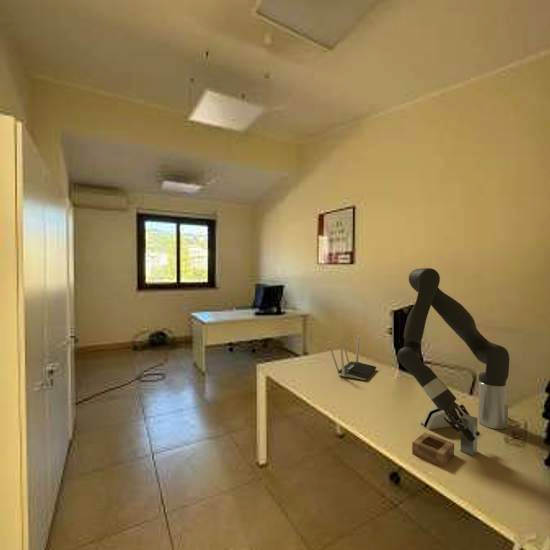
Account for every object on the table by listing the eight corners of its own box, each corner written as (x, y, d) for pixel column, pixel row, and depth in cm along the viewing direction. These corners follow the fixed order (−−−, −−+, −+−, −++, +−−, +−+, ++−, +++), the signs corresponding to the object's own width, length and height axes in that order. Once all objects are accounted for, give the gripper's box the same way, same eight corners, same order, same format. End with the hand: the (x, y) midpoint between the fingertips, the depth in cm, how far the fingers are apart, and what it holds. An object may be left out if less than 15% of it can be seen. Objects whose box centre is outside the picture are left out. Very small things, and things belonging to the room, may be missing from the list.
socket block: (424, 442, 117) (424, 432, 117) (454, 454, 110) (454, 443, 110) (412, 453, 111) (412, 442, 111) (442, 467, 103) (442, 454, 103)
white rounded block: (452, 418, 136) (459, 400, 132) (461, 427, 131) (468, 408, 128) (419, 423, 132) (425, 404, 128) (426, 432, 127) (433, 413, 124)
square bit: (464, 446, 115) (464, 413, 114) (477, 451, 112) (477, 417, 111) (460, 451, 112) (460, 417, 112) (473, 456, 109) (473, 421, 109)
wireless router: (363, 384, 175) (363, 348, 175) (324, 377, 188) (324, 343, 187) (379, 368, 204) (379, 337, 203) (344, 362, 216) (344, 333, 216)
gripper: (438, 393, 112) (477, 441, 103) (453, 383, 122) (490, 426, 113) (423, 403, 116) (459, 450, 107) (439, 393, 126) (473, 435, 117)
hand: (475, 437), depth 110 cm, fingers closed on square bit, 4 cm apart
